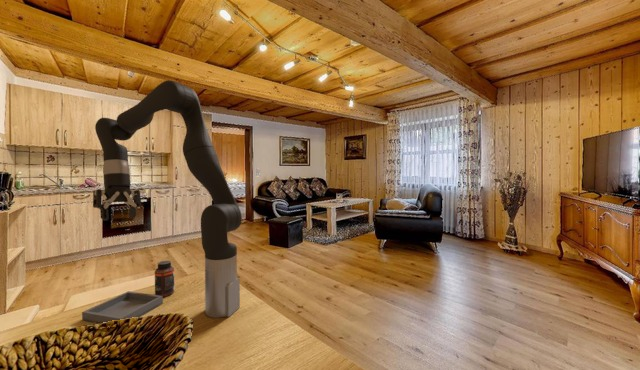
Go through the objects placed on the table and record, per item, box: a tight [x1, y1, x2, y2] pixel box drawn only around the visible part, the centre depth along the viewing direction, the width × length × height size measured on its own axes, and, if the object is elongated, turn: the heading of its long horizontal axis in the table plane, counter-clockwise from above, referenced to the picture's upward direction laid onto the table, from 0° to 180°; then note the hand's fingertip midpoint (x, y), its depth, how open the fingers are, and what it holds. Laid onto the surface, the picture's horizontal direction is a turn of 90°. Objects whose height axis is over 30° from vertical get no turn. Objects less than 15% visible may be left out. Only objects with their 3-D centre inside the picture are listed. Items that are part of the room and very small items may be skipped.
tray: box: [81, 291, 164, 324], centre depth 80 cm, size 14×14×2 cm
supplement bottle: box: [154, 260, 175, 298], centre depth 92 cm, size 6×6×11 cm
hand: (119, 219), depth 92 cm, fingers open, 8 cm apart
